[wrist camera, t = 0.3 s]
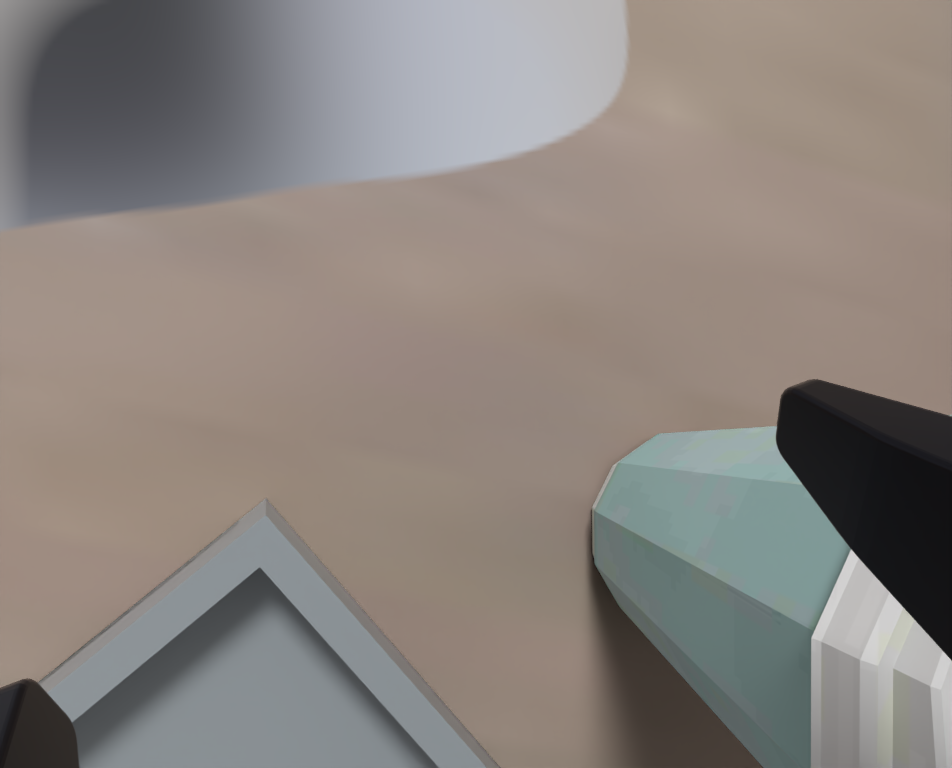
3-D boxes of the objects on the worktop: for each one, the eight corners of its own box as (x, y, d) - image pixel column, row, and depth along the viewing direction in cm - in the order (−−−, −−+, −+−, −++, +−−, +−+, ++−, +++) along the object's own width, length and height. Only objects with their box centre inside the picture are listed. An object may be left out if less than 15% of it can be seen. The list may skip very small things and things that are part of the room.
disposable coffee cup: (574, 342, 25) (1001, 318, 10) (829, 412, 28) (1440, 470, 13) (502, 651, 24) (841, 1072, 10) (769, 688, 27) (1327, 1056, 13)
